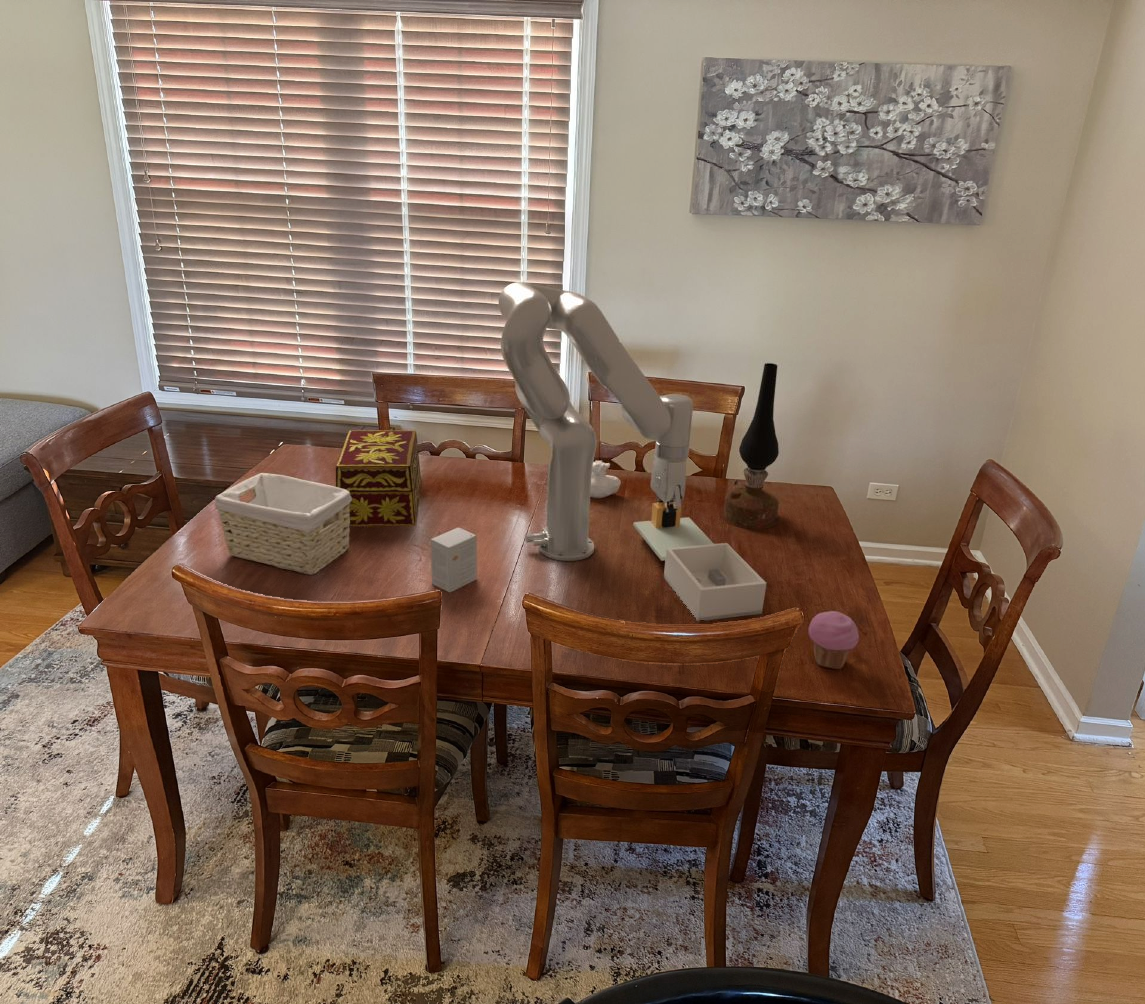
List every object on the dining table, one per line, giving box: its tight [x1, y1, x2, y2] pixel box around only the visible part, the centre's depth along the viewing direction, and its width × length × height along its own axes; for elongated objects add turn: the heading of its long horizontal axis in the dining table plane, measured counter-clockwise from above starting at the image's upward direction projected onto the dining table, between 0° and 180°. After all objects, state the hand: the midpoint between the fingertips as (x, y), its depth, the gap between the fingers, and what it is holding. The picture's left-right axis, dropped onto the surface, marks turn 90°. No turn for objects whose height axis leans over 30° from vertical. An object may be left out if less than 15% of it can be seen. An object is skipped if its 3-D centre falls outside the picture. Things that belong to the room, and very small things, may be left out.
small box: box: [430, 527, 478, 593], centre depth 172 cm, size 8×6×10 cm
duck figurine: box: [590, 460, 622, 499], centre depth 217 cm, size 12×8×11 cm
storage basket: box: [214, 472, 352, 575], centre depth 180 cm, size 24×16×15 cm
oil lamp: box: [721, 362, 780, 530], centre depth 204 cm, size 14×15×40 cm
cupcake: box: [807, 610, 860, 670], centre depth 151 cm, size 9×9×10 cm
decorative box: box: [335, 429, 422, 527], centre depth 207 cm, size 28×19×15 cm
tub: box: [663, 542, 767, 622], centre depth 173 cm, size 18×14×7 cm
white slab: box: [632, 502, 715, 561], centre depth 190 cm, size 18×14×7 cm
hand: (665, 522), depth 196 cm, fingers closed on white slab, 3 cm apart
